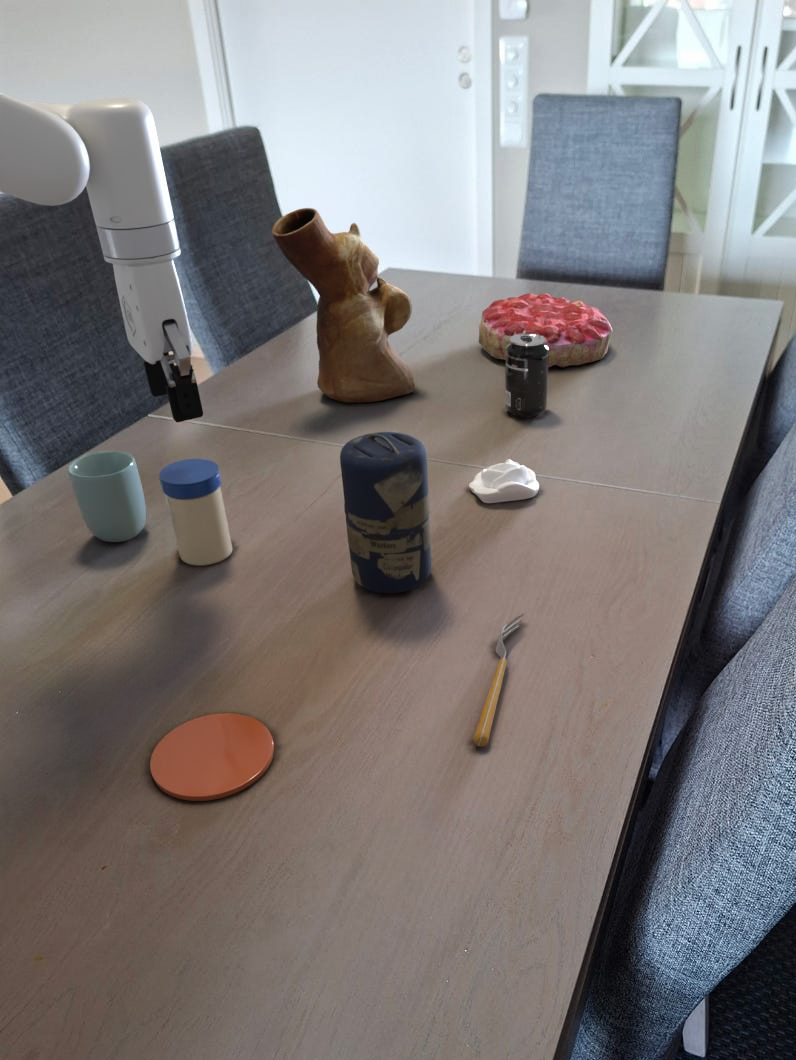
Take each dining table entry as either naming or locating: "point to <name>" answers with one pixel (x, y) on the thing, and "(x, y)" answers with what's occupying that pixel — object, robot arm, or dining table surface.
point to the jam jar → (201, 528)
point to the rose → (505, 483)
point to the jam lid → (190, 478)
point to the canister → (387, 510)
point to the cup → (109, 494)
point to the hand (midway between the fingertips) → (176, 405)
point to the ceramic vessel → (348, 309)
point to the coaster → (212, 757)
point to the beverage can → (526, 375)
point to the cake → (547, 327)
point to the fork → (494, 689)
